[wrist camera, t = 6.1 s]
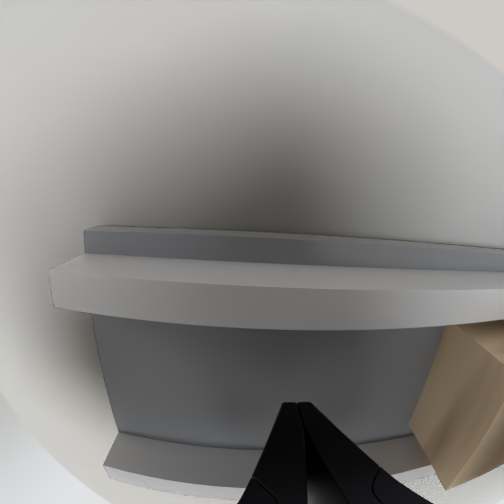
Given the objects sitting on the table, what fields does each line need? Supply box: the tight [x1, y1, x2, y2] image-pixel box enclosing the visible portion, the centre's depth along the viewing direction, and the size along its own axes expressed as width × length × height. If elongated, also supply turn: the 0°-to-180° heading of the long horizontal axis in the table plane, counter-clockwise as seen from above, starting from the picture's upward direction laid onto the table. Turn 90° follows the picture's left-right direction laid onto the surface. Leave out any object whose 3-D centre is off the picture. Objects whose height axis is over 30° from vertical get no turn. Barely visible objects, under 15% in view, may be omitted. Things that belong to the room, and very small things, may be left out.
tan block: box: [408, 319, 504, 490], centre depth 7 cm, size 5×5×4 cm
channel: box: [48, 226, 504, 500], centre depth 8 cm, size 19×10×5 cm, turn 87°
